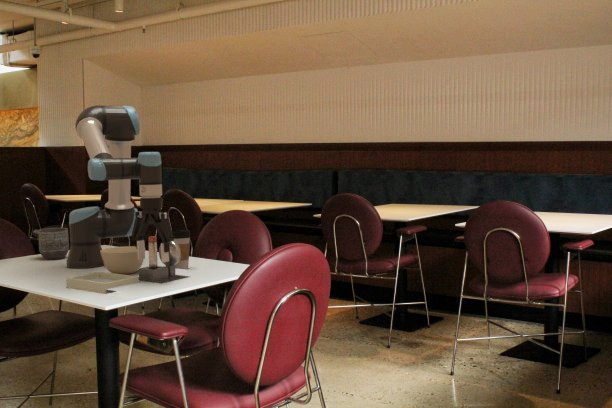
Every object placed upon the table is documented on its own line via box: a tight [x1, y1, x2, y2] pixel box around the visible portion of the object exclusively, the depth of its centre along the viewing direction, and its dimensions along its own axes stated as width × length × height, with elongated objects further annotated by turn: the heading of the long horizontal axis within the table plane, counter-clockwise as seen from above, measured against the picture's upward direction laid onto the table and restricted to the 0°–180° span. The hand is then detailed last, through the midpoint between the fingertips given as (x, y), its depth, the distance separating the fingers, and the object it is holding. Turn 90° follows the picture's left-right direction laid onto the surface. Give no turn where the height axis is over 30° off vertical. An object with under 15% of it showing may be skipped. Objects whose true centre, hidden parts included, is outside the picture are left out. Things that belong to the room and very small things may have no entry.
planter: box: [37, 227, 70, 261], centre depth 296 cm, size 12×12×13 cm
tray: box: [65, 271, 139, 295], centre depth 231 cm, size 20×14×3 cm
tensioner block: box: [137, 241, 190, 285], centre depth 238 cm, size 16×14×14 cm
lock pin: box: [147, 235, 159, 269], centre depth 235 cm, size 3×3×15 cm
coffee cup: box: [169, 229, 192, 270], centre depth 264 cm, size 8×8×15 cm
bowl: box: [100, 245, 144, 275], centre depth 250 cm, size 16×16×10 cm
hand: (153, 260), depth 235 cm, fingers open, 11 cm apart
